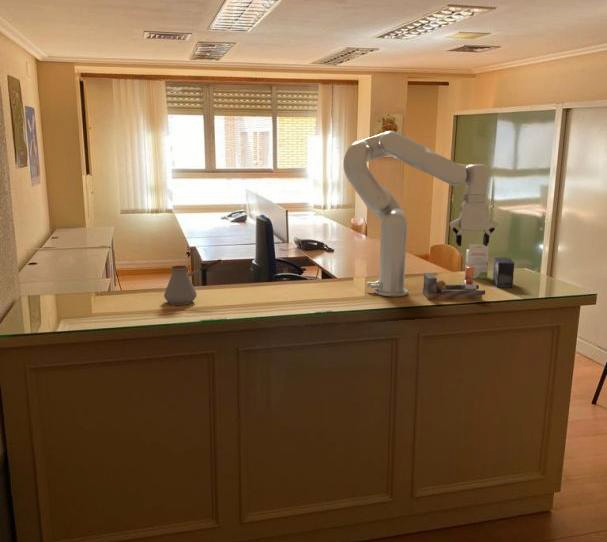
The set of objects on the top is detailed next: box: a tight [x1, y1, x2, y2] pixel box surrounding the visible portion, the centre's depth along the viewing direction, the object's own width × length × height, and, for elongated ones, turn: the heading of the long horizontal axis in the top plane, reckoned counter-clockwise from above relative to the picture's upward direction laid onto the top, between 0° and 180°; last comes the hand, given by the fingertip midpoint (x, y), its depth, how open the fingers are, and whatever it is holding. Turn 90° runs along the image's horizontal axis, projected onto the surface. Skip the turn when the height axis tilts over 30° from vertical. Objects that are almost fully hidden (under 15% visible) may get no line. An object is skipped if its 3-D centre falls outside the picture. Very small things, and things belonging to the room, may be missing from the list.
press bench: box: [422, 272, 486, 301], centre depth 222 cm, size 21×9×8 cm, turn 90°
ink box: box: [464, 243, 490, 279], centre depth 252 cm, size 9×5×15 cm, turn 84°
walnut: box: [436, 279, 446, 292], centre depth 222 cm, size 4×4×4 cm
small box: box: [492, 256, 516, 289], centre depth 240 cm, size 11×6×10 cm, turn 172°
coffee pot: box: [163, 258, 224, 306], centre depth 213 cm, size 21×12×15 cm, turn 107°
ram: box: [460, 266, 477, 290], centre depth 222 cm, size 4×6×9 cm, turn 0°
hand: (472, 245), depth 219 cm, fingers open, 9 cm apart
